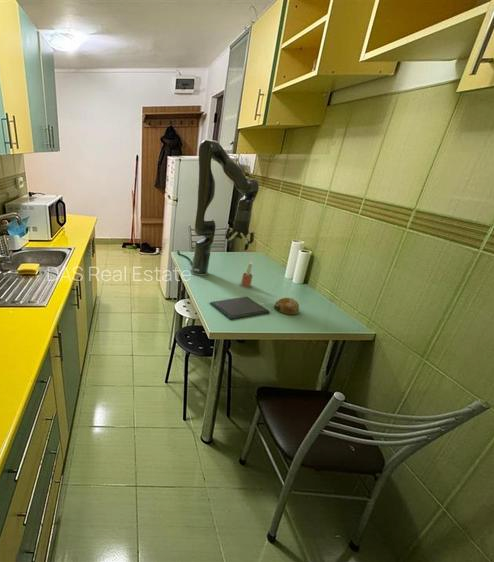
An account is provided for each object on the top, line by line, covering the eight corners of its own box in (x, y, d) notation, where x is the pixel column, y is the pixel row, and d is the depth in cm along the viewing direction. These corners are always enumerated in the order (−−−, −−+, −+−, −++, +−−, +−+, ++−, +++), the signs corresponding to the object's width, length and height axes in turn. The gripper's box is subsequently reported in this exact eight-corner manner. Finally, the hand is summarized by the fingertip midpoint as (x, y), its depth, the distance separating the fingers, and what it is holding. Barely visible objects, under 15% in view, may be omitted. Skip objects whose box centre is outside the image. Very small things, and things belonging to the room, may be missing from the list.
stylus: (243, 284, 172) (247, 262, 166) (245, 284, 172) (250, 262, 167) (245, 286, 170) (250, 263, 165) (248, 285, 171) (253, 263, 165)
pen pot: (238, 284, 173) (241, 273, 170) (246, 283, 174) (248, 272, 171) (244, 288, 169) (247, 276, 166) (252, 287, 170) (254, 275, 167)
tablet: (210, 303, 151) (210, 301, 150) (246, 298, 157) (246, 296, 157) (230, 319, 137) (230, 317, 136) (269, 313, 143) (269, 310, 143)
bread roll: (291, 322, 142) (303, 311, 138) (271, 309, 145) (283, 297, 140) (292, 313, 150) (303, 302, 146) (273, 301, 153) (284, 290, 148)
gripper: (259, 220, 157) (252, 249, 164) (232, 216, 165) (227, 244, 172) (254, 222, 152) (248, 253, 158) (226, 218, 160) (222, 247, 166)
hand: (237, 248), depth 165 cm, fingers open, 8 cm apart
